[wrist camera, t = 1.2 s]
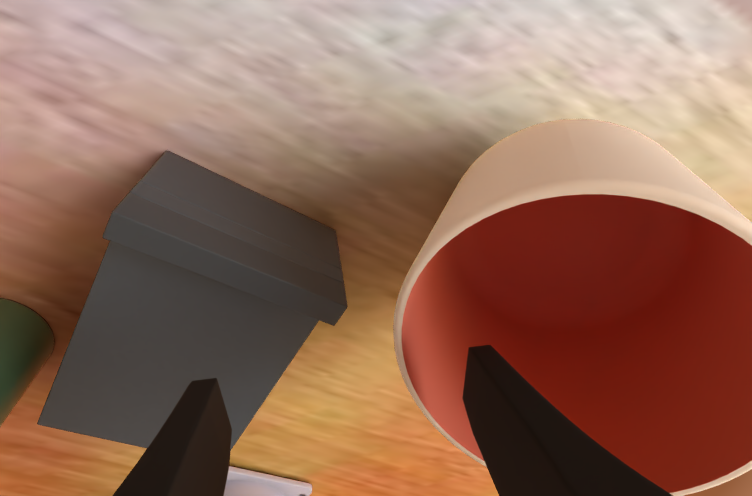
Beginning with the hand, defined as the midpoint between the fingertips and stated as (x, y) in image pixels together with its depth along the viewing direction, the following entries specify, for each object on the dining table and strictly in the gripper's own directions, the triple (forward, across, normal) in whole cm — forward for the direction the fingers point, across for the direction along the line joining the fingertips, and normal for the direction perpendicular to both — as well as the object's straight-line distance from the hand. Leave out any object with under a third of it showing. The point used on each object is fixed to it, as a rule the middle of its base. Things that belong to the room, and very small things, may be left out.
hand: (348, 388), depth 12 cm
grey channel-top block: (+10, +6, +3) cm, 12 cm away
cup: (+8, -10, 0) cm, 13 cm away
